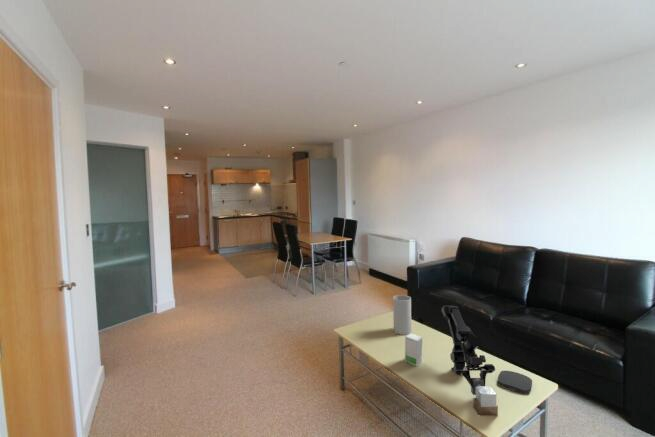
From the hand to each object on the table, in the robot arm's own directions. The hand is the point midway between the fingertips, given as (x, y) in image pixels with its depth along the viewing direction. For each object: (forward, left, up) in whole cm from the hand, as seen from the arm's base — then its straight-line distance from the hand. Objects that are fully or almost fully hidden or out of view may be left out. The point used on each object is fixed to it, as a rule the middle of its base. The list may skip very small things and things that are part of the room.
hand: (478, 387), depth 151 cm
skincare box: (-39, -17, -7) cm, 43 cm away
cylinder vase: (-80, -9, -7) cm, 81 cm away
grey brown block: (+8, -1, -7) cm, 10 cm away
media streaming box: (-10, +26, -7) cm, 29 cm away
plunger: (+1, 0, -4) cm, 4 cm away
